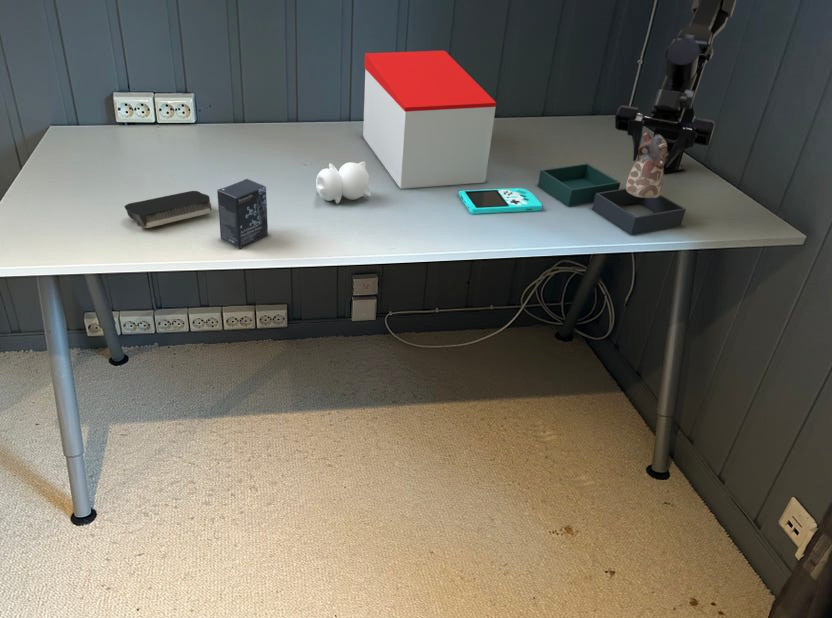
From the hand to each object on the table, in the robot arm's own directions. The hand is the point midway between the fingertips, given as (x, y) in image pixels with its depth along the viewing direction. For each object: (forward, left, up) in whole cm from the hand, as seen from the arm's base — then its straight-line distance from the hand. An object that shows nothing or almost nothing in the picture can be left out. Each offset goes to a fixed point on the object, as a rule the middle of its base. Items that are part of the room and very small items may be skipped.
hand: (649, 163), depth 148 cm
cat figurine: (+55, -31, -13) cm, 64 cm away
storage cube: (+28, -47, -13) cm, 56 cm away
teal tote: (+3, -16, -12) cm, 21 cm away
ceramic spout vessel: (-1, -1, -7) cm, 7 cm away
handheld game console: (+23, -17, -13) cm, 31 cm away
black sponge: (+92, -33, -13) cm, 99 cm away
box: (+80, -19, -13) cm, 83 cm away
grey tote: (-1, -1, -12) cm, 13 cm away
